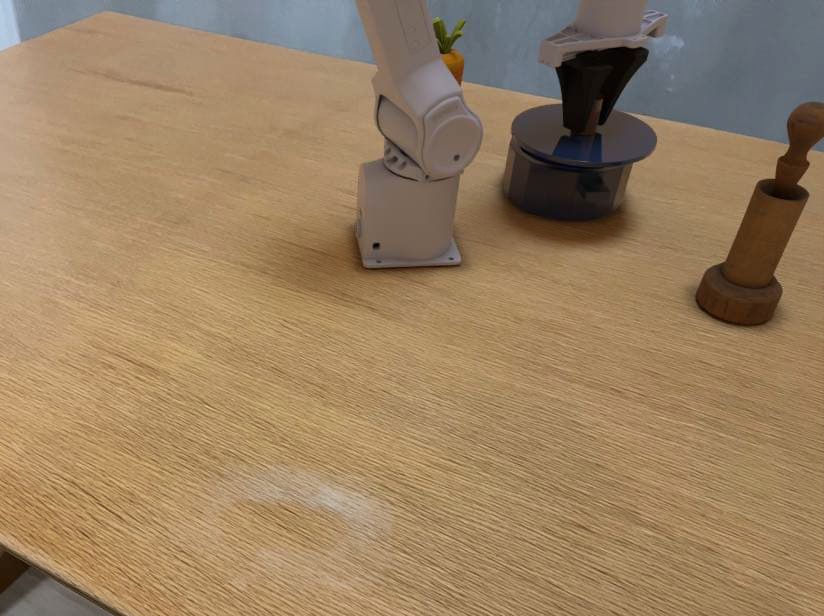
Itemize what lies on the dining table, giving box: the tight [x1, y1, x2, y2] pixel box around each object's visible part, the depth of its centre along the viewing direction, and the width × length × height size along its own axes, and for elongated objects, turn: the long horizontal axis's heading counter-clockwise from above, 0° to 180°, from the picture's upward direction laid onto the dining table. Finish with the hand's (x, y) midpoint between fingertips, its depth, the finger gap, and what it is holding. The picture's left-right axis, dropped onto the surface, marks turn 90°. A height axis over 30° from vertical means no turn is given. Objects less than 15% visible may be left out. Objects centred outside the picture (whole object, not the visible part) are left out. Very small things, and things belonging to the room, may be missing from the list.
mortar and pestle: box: [696, 101, 824, 325], centre depth 68 cm, size 7×6×18 cm
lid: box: [510, 92, 658, 167], centre depth 80 cm, size 14×14×5 cm
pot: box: [501, 136, 634, 222], centre depth 88 cm, size 13×18×5 cm
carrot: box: [432, 16, 467, 87], centre depth 93 cm, size 5×5×15 cm
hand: (583, 125), depth 80 cm, fingers closed on lid, 2 cm apart
